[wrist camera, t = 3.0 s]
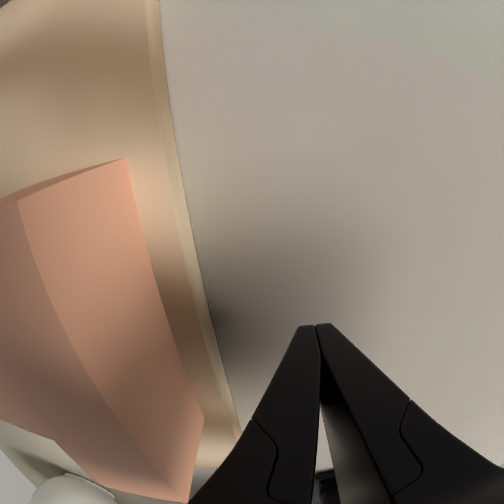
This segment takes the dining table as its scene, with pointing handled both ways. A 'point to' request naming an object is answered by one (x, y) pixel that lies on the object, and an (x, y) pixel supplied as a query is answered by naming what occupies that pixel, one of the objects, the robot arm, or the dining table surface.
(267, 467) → the robot arm
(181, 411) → the t block
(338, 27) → the dining table surface
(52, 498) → the lidded jar
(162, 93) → the board
